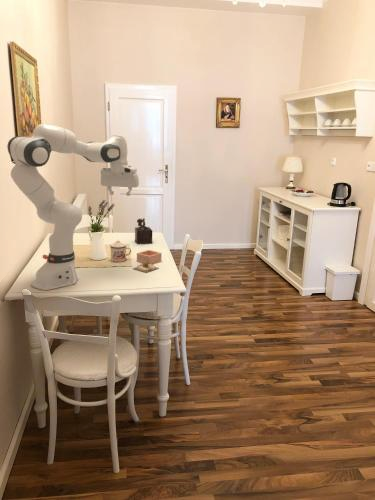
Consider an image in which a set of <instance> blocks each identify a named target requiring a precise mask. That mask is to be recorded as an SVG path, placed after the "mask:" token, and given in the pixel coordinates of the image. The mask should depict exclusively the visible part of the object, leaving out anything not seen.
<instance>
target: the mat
mask: <svg viewBox="0 0 375 500" xmlns="http://www.w3.org/2000/svg"><path fill="white" fill-rule="evenodd" d="M159 268H160V267H157V266H155V269H154V270H151V271H140V270H137V266H136V267H133V268H132V270H135V271H138V272H141V273H145V274H147V273H150V272H153V271H156V270H159Z"/></svg>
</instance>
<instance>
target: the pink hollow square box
mask: <svg viewBox="0 0 375 500" xmlns="http://www.w3.org/2000/svg"><path fill="white" fill-rule="evenodd" d="M143 259H148V264H151V265H154V264H157V263H160V262H162V252H159V251H155V250H151V249H145V250H144V251H139V252H137V253H136V262H137V263H140V264H143Z"/></svg>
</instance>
